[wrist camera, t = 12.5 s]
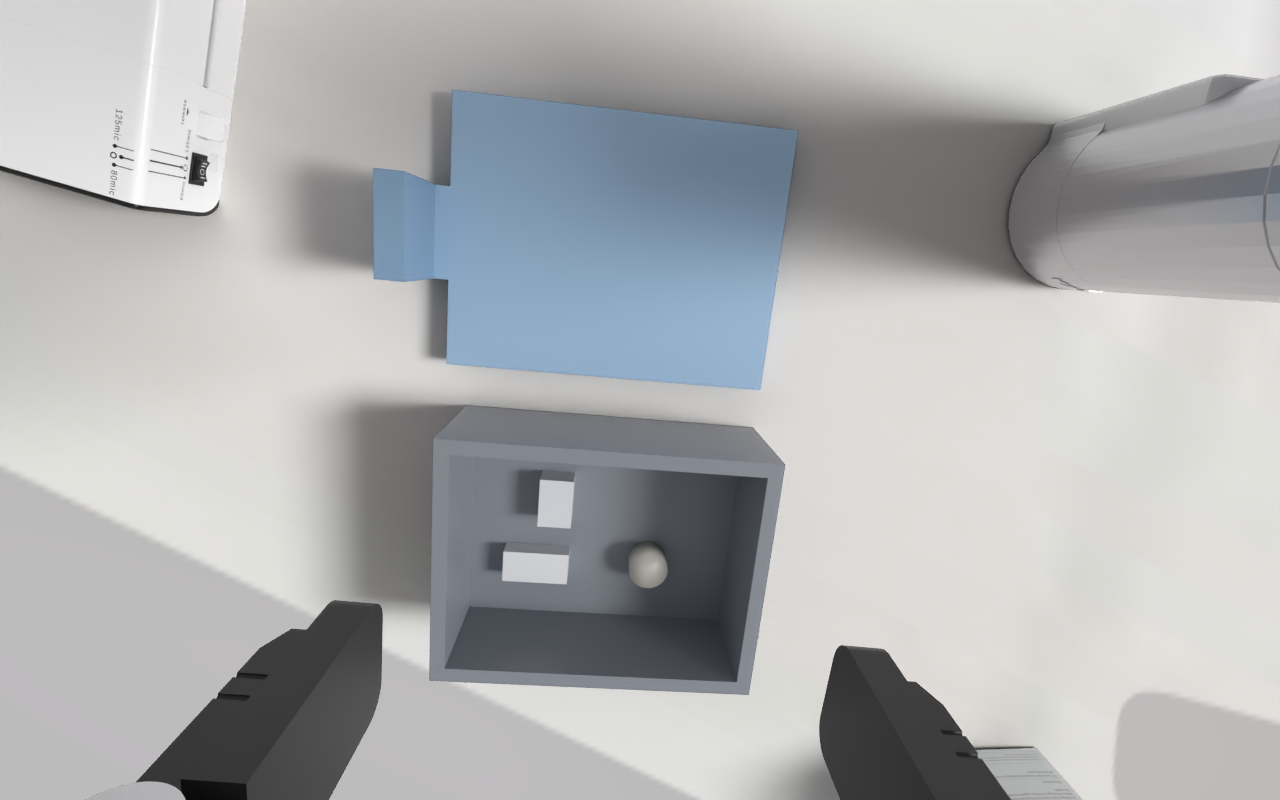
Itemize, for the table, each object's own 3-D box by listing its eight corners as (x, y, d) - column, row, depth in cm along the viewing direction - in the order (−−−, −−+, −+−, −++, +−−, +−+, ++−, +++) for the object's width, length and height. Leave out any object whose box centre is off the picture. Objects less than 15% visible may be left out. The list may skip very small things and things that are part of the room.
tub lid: (414, 93, 32) (365, 50, 26) (788, 137, 34) (832, 107, 27) (412, 355, 36) (368, 376, 29) (753, 383, 37) (784, 410, 31)
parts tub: (466, 405, 36) (433, 438, 29) (753, 427, 37) (785, 464, 31) (460, 607, 39) (429, 680, 32) (725, 621, 41) (748, 694, 34)
